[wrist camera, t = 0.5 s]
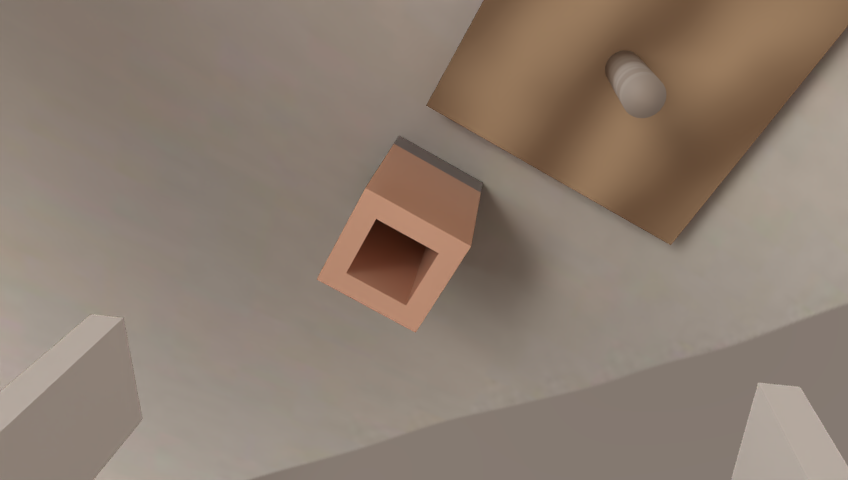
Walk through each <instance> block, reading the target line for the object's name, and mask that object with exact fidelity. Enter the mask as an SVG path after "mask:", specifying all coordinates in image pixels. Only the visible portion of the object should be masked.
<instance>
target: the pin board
mask: <svg viewBox="0 0 848 480" xmlns="http://www.w3.org/2000/svg"><path fill="white" fill-rule="evenodd" d="M847 26H848V0H484V1H483V3H482V4H481V6H480V8H479V10H478V12H477V14H476V15H475V17H474V19H473V21H472V23H471V25H470V26H469V28H468V30H467V32H466V34H465V36H464V37H463V39H462V41H461V43H460V45H459V47H458V48H457V50H456V52H455V54H454V56H453V58H452V59H451V61H450V63H449V65H448V67H447V69H446V70H445V72H444V74H443V76H442V78H441V80H440V81H439V83H438V85H437V87H436V89H435V91H434V92H433V94H432V96H431V98H430V100H429V102H428V103H427V105H426V106H428V107H430V108H432V109H433V110H435V111H437V112H439V113H440V114H442V115H444V116H446V117H447V118H449V119H451V120H453V121H454V122H456V123H458V124H460V125H461V126H463V127H465V128H467V129H468V130H470V131H472V132H474V133H475V134H477V135H479V136H481V137H482V138H484V139H486V140H488V141H489V142H491V143H493V144H495V145H496V146H498V147H500V148H502V149H503V150H505V151H507V152H509V153H510V154H512V155H514V156H516V157H517V158H519V159H521V160H523V161H524V162H526V163H528V164H530V165H531V166H533V167H535V168H537V169H538V170H540V171H542V172H544V173H545V174H547V175H549V176H551V177H552V178H554V179H556V180H558V181H559V182H561V183H563V184H565V185H566V186H568V187H570V188H572V189H573V190H575V191H577V192H579V193H580V194H582V195H584V196H586V197H587V198H589V199H591V200H593V201H594V202H596V203H598V204H600V205H601V206H603V207H605V208H607V209H608V210H610V211H612V212H614V213H615V214H617V215H619V216H621V217H622V218H624V219H626V220H628V221H629V222H631V223H633V224H635V225H636V226H638V227H640V228H642V229H643V230H645V231H647V232H649V233H650V234H652V235H654V236H656V237H657V238H659V239H661V240H663V241H664V242H666V243H668V244H670V245H671V244H672V243H673V242H674V240H675V239H676V238H677V237H678V235H679V234H680V233H681V232H682V230H683V229H684V228H685V227H686V225H687V224H688V223H689V222H690V221H691V219H692V218H693V217H694V216H695V214H696V213H697V212H698V211H699V209H700V208H701V207H702V206H703V204H704V203H705V202H706V201H707V200H708V198H709V197H710V196H711V195H712V193H713V192H714V191H715V190H716V188H717V187H718V186H719V185H720V183H721V182H722V181H723V180H724V178H725V177H726V176H727V175H728V174H729V172H730V171H731V170H732V169H733V167H734V166H735V165H736V164H737V162H738V161H739V160H740V159H741V157H742V156H743V155H744V154H745V152H746V151H747V150H748V149H749V148H750V146H751V145H752V144H753V143H754V141H755V140H756V139H757V138H758V136H759V135H760V134H761V133H762V131H763V130H764V129H765V128H766V126H767V125H768V124H769V123H770V122H771V120H772V119H773V118H774V117H775V115H776V114H777V113H778V112H779V110H780V109H781V108H782V107H783V105H784V104H785V103H786V102H787V100H788V99H789V98H790V97H791V96H792V94H793V93H794V92H795V91H796V89H797V88H798V87H799V86H800V84H801V83H802V82H803V81H804V79H805V78H806V77H807V76H808V74H809V73H810V72H811V71H812V70H813V68H814V67H815V66H816V65H817V63H818V62H819V61H820V60H821V58H822V57H823V56H824V55H825V53H826V52H827V51H828V50H829V48H830V47H831V46H832V45H833V44H834V42H835V41H836V40H837V39H838V37H839V36H840V35H841V34H842V32H843V31H844V30H845V29H846V27H847Z"/></svg>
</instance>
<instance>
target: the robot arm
mask: <svg viewBox="0 0 848 480" xmlns="http://www.w3.org/2000/svg"><path fill="white" fill-rule="evenodd" d="M141 420H142V414H141V408H140V403H139V398H138V392H137V387H136V382H135V376H134V371H133V365H132V360H131V355H130V349H129V344H128V338H127V333H126V328H125V322H124V318H123V317H113V316H103V315H94V314H91V315H89V316H88V317H87V318H86V319H85V320H83V321H82V322H81V323H80V324H79V325H78V326H76V327H75V328H74V329H73V330H72V331H71V332H69V333H68V334H67V335H66V336H65V337H63V338H62V339H61V340H60V341H59V342H58V343H56V344H55V345H54V346H53V347H52V348H51V349H49V350H48V351H47V352H46V353H45V354H44V355H42V356H41V357H40V358H39V359H38V360H36V361H35V362H34V363H33V364H32V365H31V366H29V367H28V368H27V369H26V370H25V371H24V372H22V373H21V374H20V375H19V376H18V377H16V378H15V379H14V380H13V381H12V382H11V383H9V384H8V385H7V386H6V387H5V388H4V389H2V390H1V391H0V480H94V478H95V477H96V476H97V475H98V473H99V472H100V471H101V470H102V469H103V467H104V466H105V465H106V464H107V462H108V461H109V460H110V459H111V457H112V456H113V455H114V454H115V453H116V451H117V450H118V449H119V448H120V446H121V445H122V444H123V443H124V441H125V440H126V439H127V438H128V436H129V435H130V434H131V433H132V432H133V430H134V429H135V428H136V427H137V425H138V424H139V423H140V422H141ZM731 480H848V466H847V464H846V462H845V461H844V459H843V457H842V456H841V454H840V453H839V451H838V449H837V447H836V446H835V444H834V442H833V441H832V439H831V437H830V436H829V434H828V432H827V431H826V429H825V427H824V426H823V424H822V422H821V421H820V419H819V418H818V416H817V414H816V413H815V411H814V409H813V408H812V406H811V404H810V403H809V401H808V399H807V398H806V396H805V394H804V393H803V391H802V389H801V388H800V387H797V386H787V385H778V384H768V383H758V385H757V389H756V392H755V396H754V399H753V403H752V406H751V410H750V413H749V417H748V421H747V424H746V428H745V431H744V435H743V439H742V442H741V446H740V449H739V453H738V456H737V460H736V464H735V467H734V471H733V475H732V478H731Z"/></svg>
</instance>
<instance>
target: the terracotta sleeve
mask: <svg viewBox="0 0 848 480" xmlns="http://www.w3.org/2000/svg"><path fill="white" fill-rule="evenodd" d="M482 184H483V183H482V182H480V181H479V180H477V179H475V178H473V177H472V176H470V175H468V174H466V173H464V172H463V171H461V170H459V169H457V168H456V167H454V166H452V165H450V164H449V163H447V162H445V161H443V160H441V159H440V158H438V157H436V156H434V155H433V154H431V153H429V152H427V151H426V150H424V149H422V148H420V147H418V146H417V145H415V144H413V143H411V142H410V141H408V140H406V139H404V138H402V137H401V136H399V137H398V138H397V140H396V141H395V143H394V144H393V146H392V148H391V149H390V151H389V152H388V154H387V155H386V157H385V158H384V160H383V161H382V163H381V165H380V166H379V168H378V169H377V171H376V172H375V174H374V175H373V177H372V178H371V180H370V182H369V183H368V185H367V186H366V188H365V190H364V192H363V193H362V195H361V197H360V199H359V201H358V203H357V205H356V207H355V208H354V210H353V212H352V214H351V216H350V218H349V220H348V222H347V223H346V225H345V227H344V229H343V231H342V233H341V235H340V237H339V238H338V240H337V242H336V244H335V246H334V248H333V250H332V252H331V253H330V255H329V257H328V259H327V261H326V263H325V265H324V267H323V268H322V270H321V272H320V274H319V276H318V278H317V280H319V281H321V282H322V283H324V284H326V285H328V286H330V287H332V288H334V289H336V290H337V291H339V292H341V293H343V294H345V295H347V296H349V297H350V298H352V299H354V300H356V301H358V302H360V303H362V304H363V305H365V306H367V307H369V308H371V309H373V310H375V311H376V312H378V313H380V314H382V315H384V316H386V317H388V318H389V319H391V320H393V321H395V322H397V323H399V324H401V325H402V326H404V327H406V328H408V329H410V330H412V331H414V332H415V333H416V331H417V330H418V328H419V326H420V325H421V323H422V322H423V320H424V319H425V317H426V316H427V314H428V312H429V311H430V309H431V308H432V306H433V305H434V303H435V302H436V300H437V299H438V297H439V295H440V294H441V292H442V291H443V289H444V288H445V286H446V285H447V283H448V281H449V280H450V278H451V277H452V275H453V274H454V272H455V271H456V269H457V268H458V266H459V264H460V263H461V261H462V260H463V258H464V257H465V255H466V254H467V252H468V250H469V249H470V247H471V244H472V239H473V233H474V228H475V222H476V217H477V212H478V206H479V201H480V195H481V190H482Z"/></svg>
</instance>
